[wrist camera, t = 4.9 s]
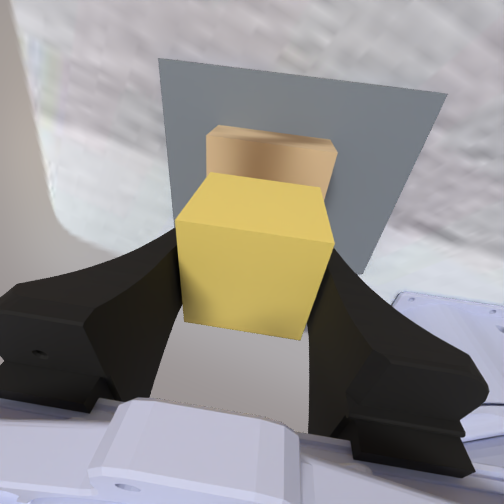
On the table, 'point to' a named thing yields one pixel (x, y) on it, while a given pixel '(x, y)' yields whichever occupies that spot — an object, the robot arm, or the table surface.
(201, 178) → the board
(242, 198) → the yellow block
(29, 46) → the table surface
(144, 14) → the table surface
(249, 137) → the oak block
